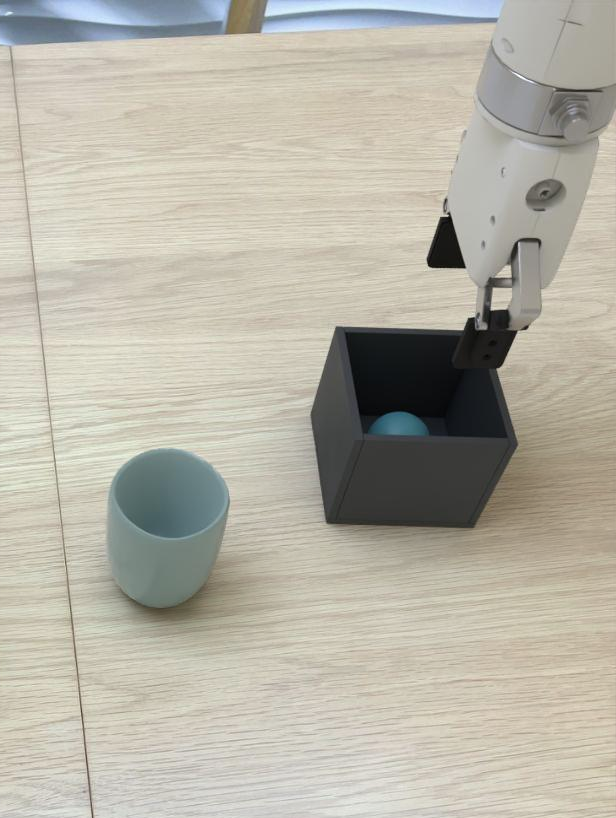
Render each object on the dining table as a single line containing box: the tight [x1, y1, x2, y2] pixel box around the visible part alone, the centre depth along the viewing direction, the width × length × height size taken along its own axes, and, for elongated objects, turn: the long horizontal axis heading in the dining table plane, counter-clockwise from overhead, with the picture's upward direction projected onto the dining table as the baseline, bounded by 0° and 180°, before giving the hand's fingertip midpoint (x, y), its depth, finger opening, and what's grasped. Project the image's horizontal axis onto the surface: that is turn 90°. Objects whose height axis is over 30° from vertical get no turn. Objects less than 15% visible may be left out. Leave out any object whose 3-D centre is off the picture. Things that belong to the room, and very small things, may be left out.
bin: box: [310, 325, 519, 529], centre depth 82 cm, size 11×11×10 cm
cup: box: [105, 447, 231, 609], centre depth 75 cm, size 8×8×10 cm
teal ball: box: [367, 412, 430, 436], centre depth 83 cm, size 5×5×5 cm
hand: (461, 313), depth 74 cm, fingers open, 9 cm apart
